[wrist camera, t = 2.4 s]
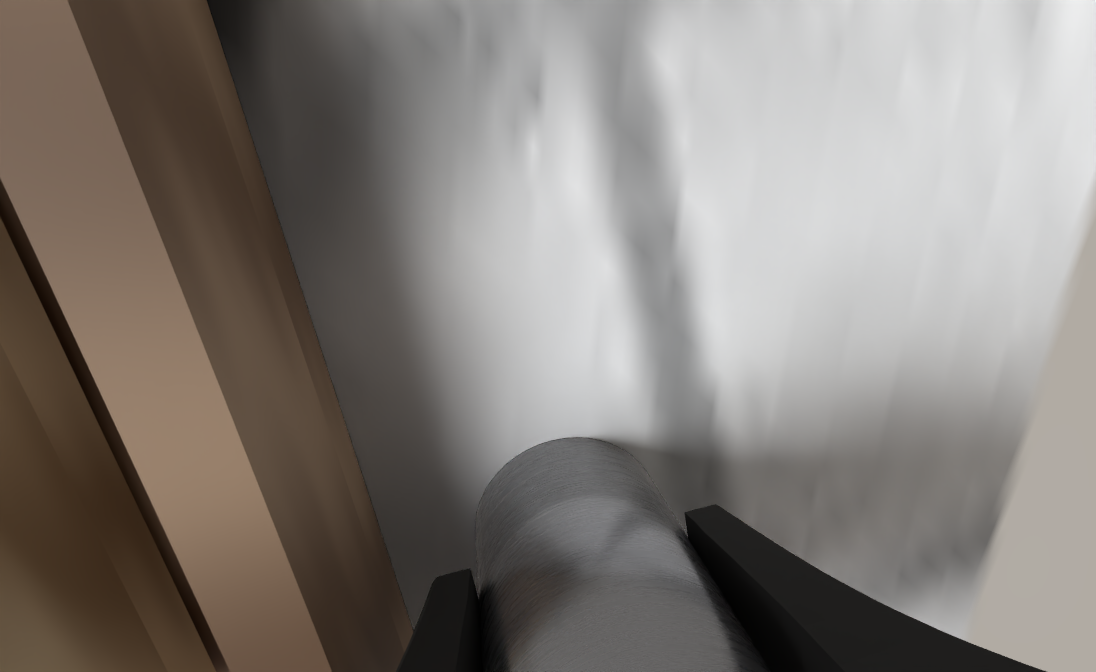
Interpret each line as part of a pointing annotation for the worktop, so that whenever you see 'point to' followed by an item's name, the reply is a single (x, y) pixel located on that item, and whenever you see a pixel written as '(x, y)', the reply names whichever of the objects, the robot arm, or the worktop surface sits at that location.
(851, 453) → the worktop surface
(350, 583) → the bay
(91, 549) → the crate
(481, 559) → the peg
